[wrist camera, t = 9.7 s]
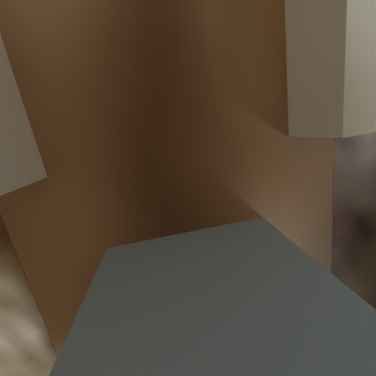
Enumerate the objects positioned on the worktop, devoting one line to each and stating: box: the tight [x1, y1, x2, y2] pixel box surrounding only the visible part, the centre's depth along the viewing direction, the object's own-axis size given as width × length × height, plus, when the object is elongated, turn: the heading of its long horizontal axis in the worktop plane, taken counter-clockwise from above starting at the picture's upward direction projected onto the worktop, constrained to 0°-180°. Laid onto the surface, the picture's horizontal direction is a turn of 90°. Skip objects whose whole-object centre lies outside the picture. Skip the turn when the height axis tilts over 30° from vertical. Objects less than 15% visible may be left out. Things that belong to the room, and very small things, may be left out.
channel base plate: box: [0, 0, 335, 355], centre depth 7 cm, size 10×25×2 cm, turn 9°
